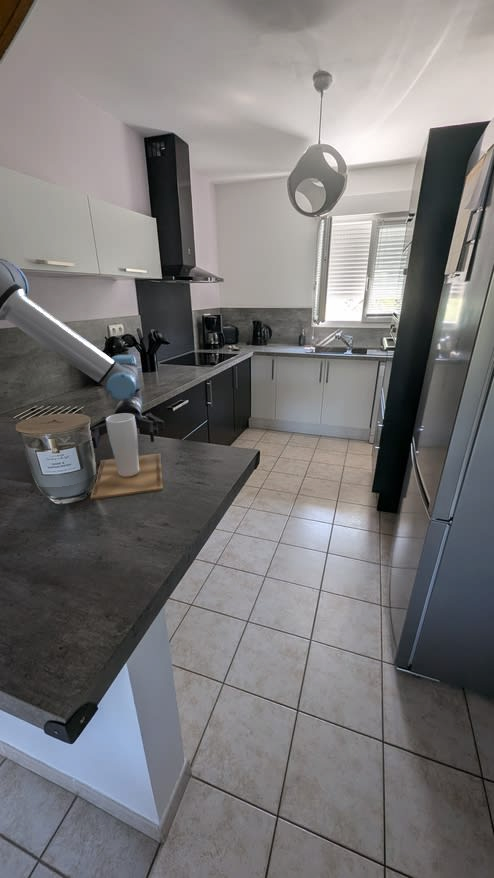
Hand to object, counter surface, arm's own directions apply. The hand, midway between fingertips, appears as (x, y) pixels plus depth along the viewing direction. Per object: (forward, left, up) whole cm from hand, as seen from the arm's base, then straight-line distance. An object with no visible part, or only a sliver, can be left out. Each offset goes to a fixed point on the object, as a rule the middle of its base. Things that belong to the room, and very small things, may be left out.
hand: (123, 440), depth 88 cm
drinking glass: (0, 0, -9) cm, 9 cm away
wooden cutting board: (0, 0, -10) cm, 10 cm away
